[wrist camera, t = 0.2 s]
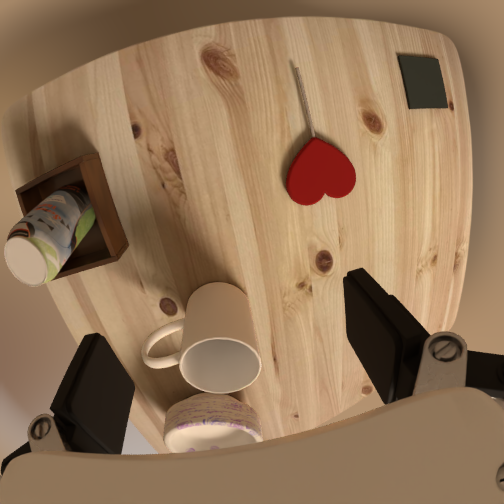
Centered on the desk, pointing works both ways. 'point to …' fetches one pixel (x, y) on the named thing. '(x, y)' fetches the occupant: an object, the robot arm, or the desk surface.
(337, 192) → the lollipop
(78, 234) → the beverage can
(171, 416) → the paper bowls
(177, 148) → the desk surface
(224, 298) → the mug
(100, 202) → the wooden box
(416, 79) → the coaster
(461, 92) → the desk surface
